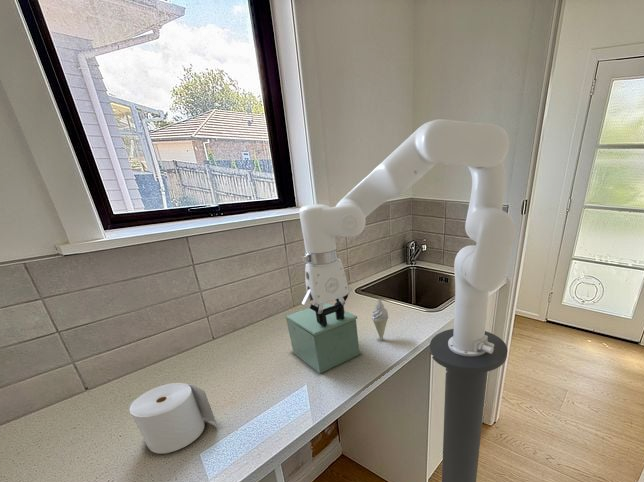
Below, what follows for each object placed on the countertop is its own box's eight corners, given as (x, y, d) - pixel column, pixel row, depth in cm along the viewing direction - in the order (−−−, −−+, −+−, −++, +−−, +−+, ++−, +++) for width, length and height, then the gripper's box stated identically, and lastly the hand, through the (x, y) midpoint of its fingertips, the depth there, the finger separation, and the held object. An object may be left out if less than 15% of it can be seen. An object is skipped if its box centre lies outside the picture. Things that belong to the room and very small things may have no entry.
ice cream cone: (389, 343, 106) (387, 300, 100) (373, 344, 106) (370, 301, 99) (389, 336, 111) (387, 294, 104) (373, 336, 110) (370, 294, 104)
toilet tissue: (141, 437, 73) (122, 401, 68) (200, 407, 81) (187, 373, 76) (157, 463, 66) (137, 425, 62) (219, 428, 74) (206, 392, 70)
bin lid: (357, 318, 95) (355, 302, 93) (315, 335, 86) (311, 318, 84) (326, 304, 106) (324, 289, 103) (286, 318, 97) (282, 302, 95)
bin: (359, 354, 101) (356, 319, 96) (320, 373, 92) (313, 336, 87) (331, 336, 111) (326, 304, 106) (293, 352, 102) (286, 318, 97)
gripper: (298, 267, 76) (311, 337, 84) (358, 252, 87) (364, 315, 95) (283, 261, 81) (296, 327, 89) (342, 247, 91) (349, 307, 100)
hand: (331, 320), depth 92 cm, fingers closed on bin lid, 5 cm apart
